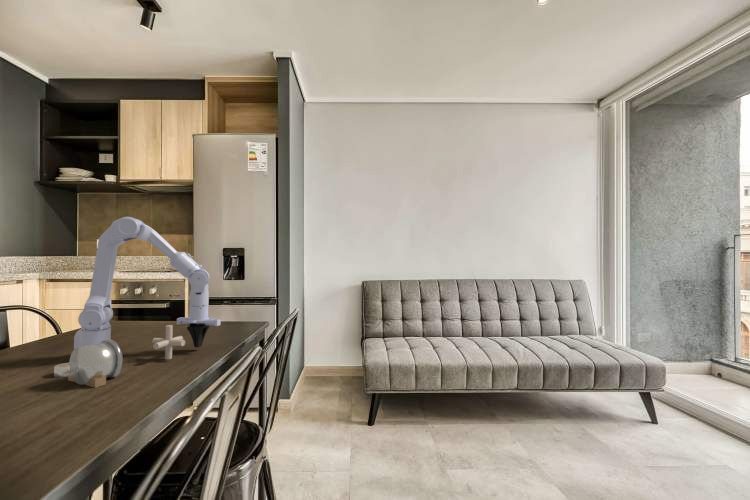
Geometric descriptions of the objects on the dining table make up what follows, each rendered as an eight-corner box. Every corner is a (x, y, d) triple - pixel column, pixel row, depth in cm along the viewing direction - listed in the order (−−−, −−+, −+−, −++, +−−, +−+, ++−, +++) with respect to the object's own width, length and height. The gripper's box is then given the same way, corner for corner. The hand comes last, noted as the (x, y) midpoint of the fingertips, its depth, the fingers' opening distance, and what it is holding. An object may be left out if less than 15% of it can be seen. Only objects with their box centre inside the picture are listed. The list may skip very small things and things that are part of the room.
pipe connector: (170, 364, 105) (171, 330, 105) (140, 362, 107) (141, 328, 107) (194, 355, 115) (194, 323, 115) (166, 353, 117) (167, 321, 117)
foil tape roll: (49, 375, 95) (49, 365, 95) (71, 370, 100) (72, 360, 100) (60, 378, 93) (61, 368, 93) (83, 372, 98) (83, 363, 98)
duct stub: (66, 382, 91) (67, 343, 91) (97, 374, 98) (98, 337, 98) (93, 389, 87) (94, 348, 87) (123, 380, 93) (124, 341, 93)
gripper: (170, 306, 118) (169, 348, 118) (212, 308, 116) (211, 351, 116) (185, 303, 125) (184, 343, 125) (224, 305, 123) (223, 345, 123)
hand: (198, 346), depth 121 cm, fingers closed
